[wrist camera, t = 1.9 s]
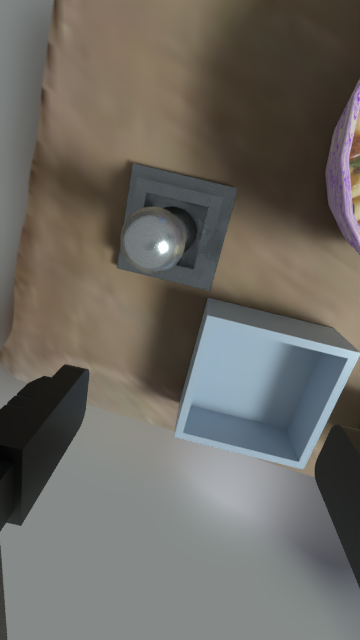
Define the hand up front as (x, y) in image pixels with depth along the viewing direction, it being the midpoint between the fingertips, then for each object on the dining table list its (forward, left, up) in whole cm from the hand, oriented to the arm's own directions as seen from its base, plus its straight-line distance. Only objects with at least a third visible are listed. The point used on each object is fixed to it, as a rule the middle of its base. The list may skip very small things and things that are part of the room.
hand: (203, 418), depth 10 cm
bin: (+9, +8, -23) cm, 26 cm away
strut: (-4, -4, -22) cm, 23 cm away
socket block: (-4, -4, -23) cm, 24 cm away
